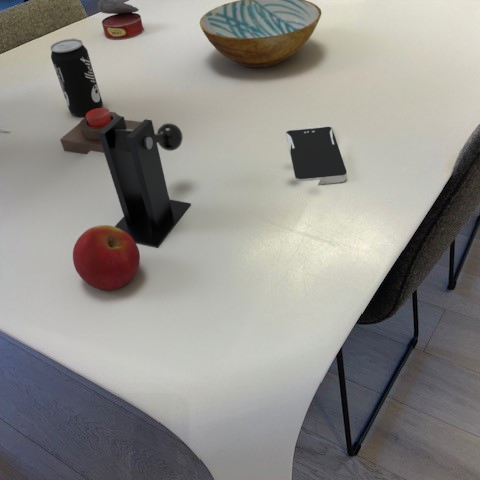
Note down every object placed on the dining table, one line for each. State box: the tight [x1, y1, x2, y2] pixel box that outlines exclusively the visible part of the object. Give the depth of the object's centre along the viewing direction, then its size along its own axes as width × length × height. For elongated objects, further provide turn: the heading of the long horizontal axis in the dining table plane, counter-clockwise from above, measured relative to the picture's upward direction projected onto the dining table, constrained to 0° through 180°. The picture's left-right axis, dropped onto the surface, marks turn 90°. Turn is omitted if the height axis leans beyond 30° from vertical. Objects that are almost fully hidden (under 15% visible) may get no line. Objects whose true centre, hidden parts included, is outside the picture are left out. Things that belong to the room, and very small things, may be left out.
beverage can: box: [49, 38, 103, 118], centre depth 92 cm, size 7×7×12 cm
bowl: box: [199, 0, 323, 68], centre depth 104 cm, size 25×25×8 cm
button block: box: [59, 111, 143, 155], centre depth 86 cm, size 12×9×4 cm
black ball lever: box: [115, 122, 184, 152], centre depth 65 cm, size 13×4×4 cm, turn 157°
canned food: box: [96, 0, 144, 41], centre depth 123 cm, size 11×10×10 cm
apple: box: [72, 224, 141, 291], centre depth 60 cm, size 8×8×8 cm
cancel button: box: [86, 107, 112, 128], centre depth 84 cm, size 4×4×2 cm
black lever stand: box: [98, 115, 192, 249], centre depth 65 cm, size 10×8×15 cm
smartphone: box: [285, 125, 348, 186], centre depth 78 cm, size 8×1×15 cm
